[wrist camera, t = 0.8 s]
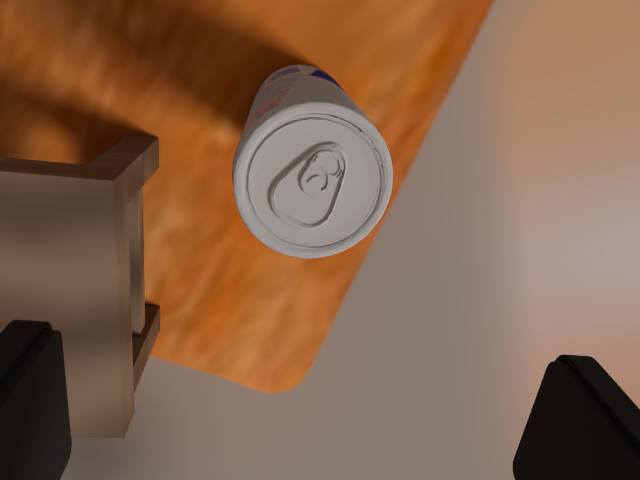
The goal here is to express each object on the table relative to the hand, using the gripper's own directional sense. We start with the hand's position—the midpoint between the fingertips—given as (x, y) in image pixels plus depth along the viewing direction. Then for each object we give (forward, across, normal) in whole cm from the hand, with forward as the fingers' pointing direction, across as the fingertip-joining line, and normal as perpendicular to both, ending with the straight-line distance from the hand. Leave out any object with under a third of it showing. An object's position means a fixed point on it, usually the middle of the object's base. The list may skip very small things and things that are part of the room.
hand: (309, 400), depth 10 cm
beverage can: (+24, 0, -1) cm, 24 cm away
